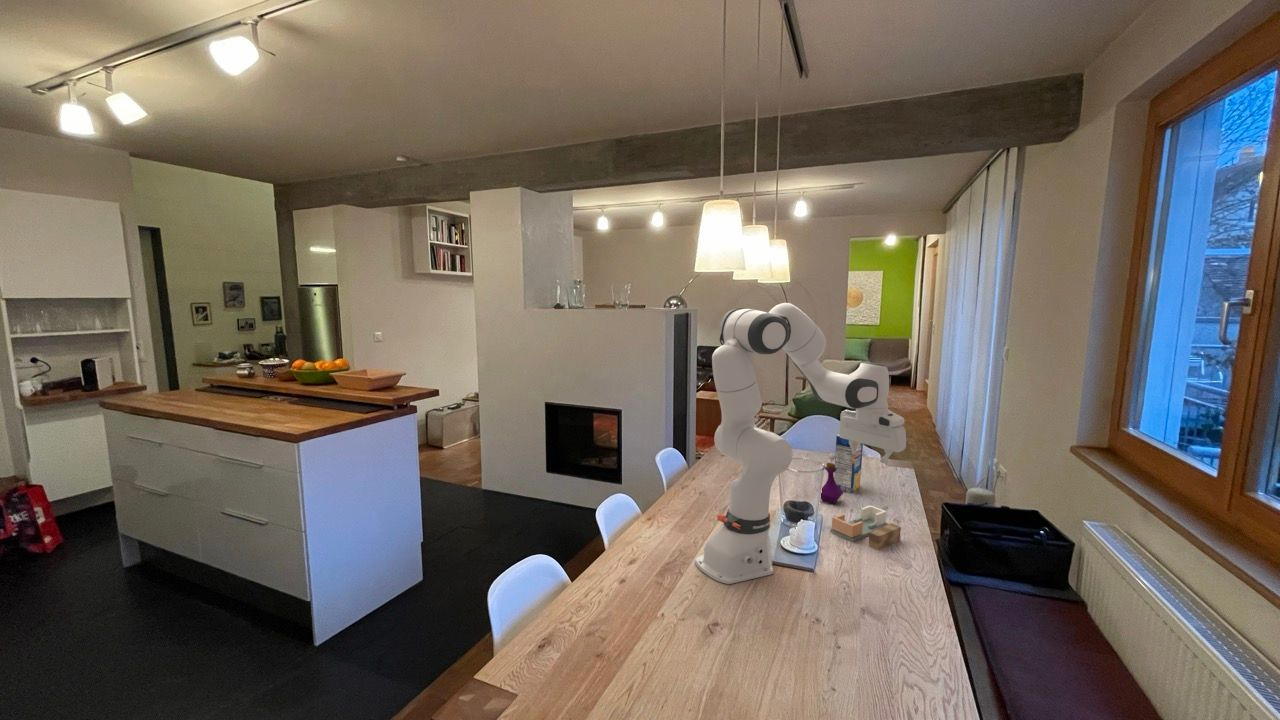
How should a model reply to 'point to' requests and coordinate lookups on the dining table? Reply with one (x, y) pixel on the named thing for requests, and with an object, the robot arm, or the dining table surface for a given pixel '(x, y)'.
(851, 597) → the dining table surface
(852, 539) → the grey slotted holder
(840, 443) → the beverage box
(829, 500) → the perfume bottle
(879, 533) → the brown rectangular block
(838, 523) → the cap
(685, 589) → the dining table surface
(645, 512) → the dining table surface
